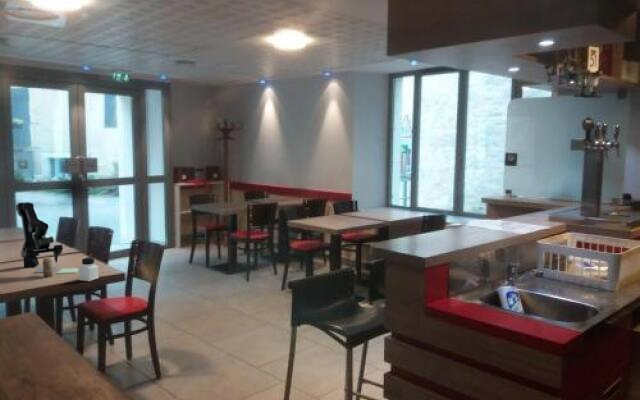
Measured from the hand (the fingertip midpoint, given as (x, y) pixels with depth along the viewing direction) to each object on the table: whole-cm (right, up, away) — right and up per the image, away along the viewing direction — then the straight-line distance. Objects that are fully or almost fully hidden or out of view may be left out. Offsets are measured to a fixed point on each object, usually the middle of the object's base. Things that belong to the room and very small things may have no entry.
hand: (47, 263), depth 276 cm
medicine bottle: (+25, -8, -4) cm, 26 cm away
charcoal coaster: (-9, -6, +14) cm, 18 cm away
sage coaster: (+5, -6, +13) cm, 16 cm away
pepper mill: (0, -7, +1) cm, 8 cm away
